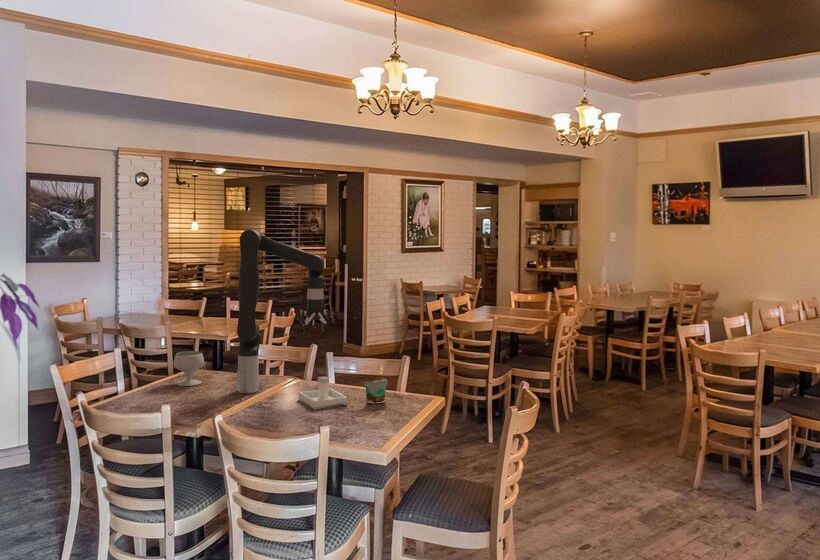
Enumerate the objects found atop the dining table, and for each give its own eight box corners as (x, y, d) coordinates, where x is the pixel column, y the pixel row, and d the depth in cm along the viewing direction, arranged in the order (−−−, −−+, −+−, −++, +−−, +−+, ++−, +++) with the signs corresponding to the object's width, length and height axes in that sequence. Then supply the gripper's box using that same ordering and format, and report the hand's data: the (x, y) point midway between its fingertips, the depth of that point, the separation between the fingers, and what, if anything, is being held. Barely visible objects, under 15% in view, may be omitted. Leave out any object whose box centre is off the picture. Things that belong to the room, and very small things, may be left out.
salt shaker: (320, 402, 280) (320, 379, 279) (316, 399, 283) (316, 377, 283) (329, 400, 282) (330, 378, 281) (325, 398, 286) (326, 376, 285)
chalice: (199, 379, 322) (199, 349, 321) (207, 385, 311) (207, 354, 309) (170, 382, 314) (170, 352, 313) (178, 388, 303) (177, 357, 302)
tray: (314, 409, 271) (314, 401, 271) (298, 399, 286) (298, 392, 286) (347, 405, 279) (347, 397, 279) (331, 396, 294) (331, 388, 294)
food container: (375, 406, 278) (375, 383, 277) (364, 404, 282) (364, 381, 281) (392, 401, 288) (393, 379, 287) (382, 398, 291) (382, 376, 291)
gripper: (326, 296, 307) (325, 330, 308) (298, 297, 300) (297, 332, 301) (332, 298, 301) (332, 332, 302) (303, 299, 294) (303, 334, 295)
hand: (314, 332), depth 302 cm, fingers open, 8 cm apart
